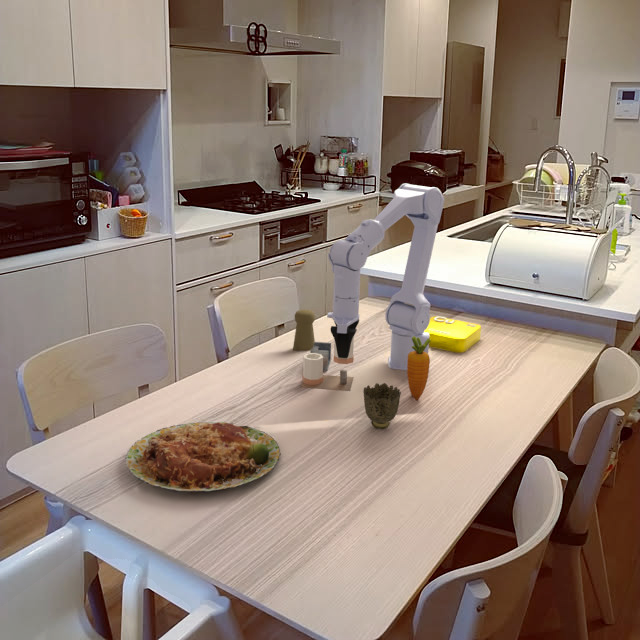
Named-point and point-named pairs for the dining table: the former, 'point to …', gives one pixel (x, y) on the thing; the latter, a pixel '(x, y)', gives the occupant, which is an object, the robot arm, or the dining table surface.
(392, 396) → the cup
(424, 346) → the carrot
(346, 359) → the sleeve
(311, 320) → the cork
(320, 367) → the sleeve
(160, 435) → the rice dish
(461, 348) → the element tile
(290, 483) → the dining table surface
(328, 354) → the grey metal bracket
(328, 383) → the pin board
